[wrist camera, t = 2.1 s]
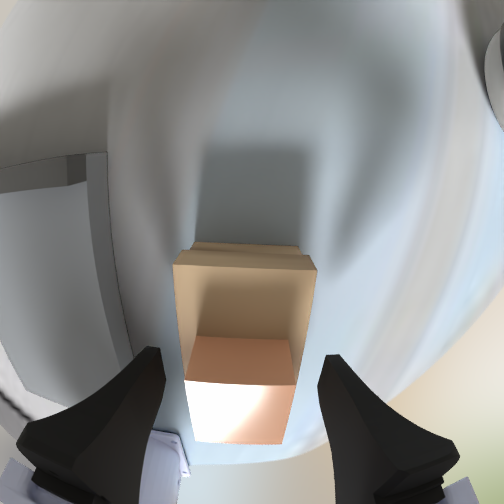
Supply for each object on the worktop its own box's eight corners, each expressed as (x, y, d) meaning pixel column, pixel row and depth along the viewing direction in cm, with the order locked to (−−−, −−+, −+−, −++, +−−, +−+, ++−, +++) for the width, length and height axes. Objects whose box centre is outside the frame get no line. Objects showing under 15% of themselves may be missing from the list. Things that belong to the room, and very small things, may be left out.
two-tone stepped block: (279, 384, 17) (284, 433, 13) (202, 381, 17) (193, 429, 13) (299, 236, 13) (317, 270, 10) (193, 231, 13) (172, 264, 9)
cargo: (277, 402, 12) (281, 444, 10) (202, 399, 12) (195, 440, 10) (288, 339, 11) (296, 385, 8) (196, 335, 11) (184, 380, 8)
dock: (149, 408, 18) (137, 443, 15) (35, 376, 18) (18, 400, 14) (107, 152, 12) (66, 155, 8) (-20, 175, 12) (-54, 185, 8)
